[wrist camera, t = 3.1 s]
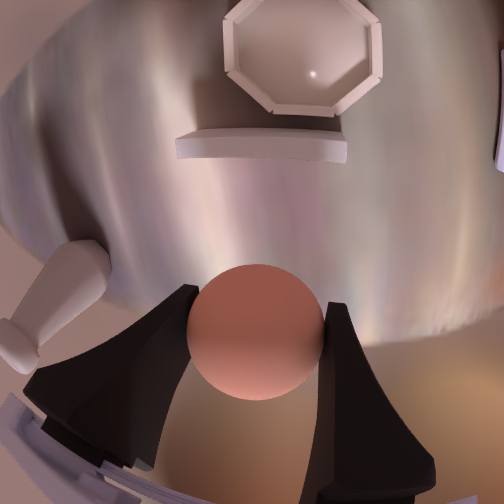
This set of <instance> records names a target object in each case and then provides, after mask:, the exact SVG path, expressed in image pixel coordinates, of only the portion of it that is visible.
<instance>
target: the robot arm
mask: <svg viewBox="0 0 504 504" xmlns="http://www.w3.org/2000/svg"><path fill="white" fill-rule="evenodd" d="M501 60H502V101H501V117H500V127H499V136H498V144H497V150H496V157H495V166H496V168H497V169H498V170H500V171H502V172H504V49H502V51H501ZM198 294H199V288H198V286H195V285H188V284H184V285H183V286H181V287H180V288H179V289H177V290H176V291H175V292H174V293H172V294H171V295H170V296H169V297H168V298H166V299H165V300H164V301H163V302H161V303H160V304H159V305H158V306H156V307H155V308H154V309H153V310H151V311H150V312H149V313H148V314H146V315H145V316H144V317H142V318H141V319H139V320H138V321H137V322H135V323H134V324H133V325H131V326H130V327H128V328H127V329H125V330H124V331H122V332H121V333H119V334H118V335H116V336H115V337H113V338H111V339H109V340H108V341H106V342H104V343H103V344H101V345H99V346H97V347H95V348H93V349H91V350H89V351H87V352H85V353H82V354H80V355H78V356H76V357H73V358H70V359H68V360H65V361H62V362H60V363H56V364H53V365H50V366H47V367H43V368H39V369H37V370H36V371H35V373H34V374H33V376H32V377H31V379H30V380H29V382H28V383H27V385H26V386H25V388H24V389H23V393H24V394H25V396H26V397H28V399H30V400H31V401H32V402H33V403H34V404H35V405H36V406H37V407H38V408H39V409H40V410H41V411H43V412H44V413H45V414H46V415H47V418H46V419H45V421H44V420H43V419H41V418H40V417H39V416H37V415H36V414H35V413H34V412H33V411H32V410H31V409H30V408H29V407H28V406H27V405H25V404H24V403H23V402H22V401H21V400H20V399H18V398H17V397H16V396H15V395H14V394H13V393H11V392H10V393H9V394H8V396H7V398H6V399H5V401H4V402H3V404H2V405H1V407H0V442H1V443H2V445H3V446H4V447H5V448H6V450H7V451H8V452H9V453H10V455H11V456H12V458H13V459H14V460H15V461H16V463H17V464H18V465H19V467H20V468H21V469H22V470H23V471H24V472H25V474H26V475H27V476H28V477H29V479H30V480H31V481H32V482H33V483H34V484H35V485H36V486H37V487H38V489H39V490H40V491H41V492H42V493H43V494H44V495H45V496H46V497H47V498H48V499H49V500H50V501H51V502H52V503H53V504H140V503H141V501H142V500H141V499H140V498H139V497H137V496H135V495H133V494H131V493H129V492H127V491H125V490H123V489H120V488H118V487H116V486H114V485H112V484H110V483H108V482H106V481H105V479H104V476H103V475H105V476H106V477H108V478H110V479H112V480H114V481H116V482H118V483H120V484H122V485H124V486H126V487H128V488H130V489H132V490H134V491H136V492H138V493H140V494H143V495H145V496H147V497H149V498H152V499H154V500H157V501H159V502H162V503H165V504H215V503H211V502H208V501H204V500H201V499H197V498H194V497H191V496H188V495H184V494H182V493H179V492H176V491H173V490H170V489H168V488H165V487H162V486H160V485H157V484H155V483H152V482H150V481H148V480H145V479H143V478H141V477H138V476H136V475H134V474H132V473H130V472H128V471H126V470H124V469H122V468H123V466H126V467H128V468H130V469H131V468H132V467H133V466H134V467H137V468H139V469H141V470H143V471H150V470H152V469H154V464H155V459H156V454H157V449H158V445H159V441H160V437H161V433H162V430H163V426H164V423H165V420H166V416H167V413H168V410H169V407H170V404H171V401H172V398H173V395H174V392H175V390H176V388H177V385H178V383H179V381H180V379H181V377H182V375H183V373H184V371H185V369H186V367H187V365H188V363H189V361H190V359H191V355H190V351H189V348H188V343H187V322H188V317H189V313H190V310H191V308H192V305H193V303H194V301H195V299H196V297H197V296H198ZM324 323H325V340H324V347H323V350H322V353H321V356H320V359H319V371H318V372H319V374H318V408H317V420H316V426H315V433H314V438H313V445H312V450H311V455H310V459H309V465H308V469H307V473H306V478H305V482H304V486H303V490H302V494H301V498H300V501H299V504H414V502H415V495H418V494H420V493H423V492H426V491H428V490H430V489H432V488H433V487H434V486H435V485H436V471H435V464H434V458H433V457H432V456H431V455H430V454H429V453H428V452H427V451H426V449H425V448H424V447H423V446H422V445H421V444H420V442H419V441H418V440H417V439H416V438H415V436H414V435H413V434H412V433H411V431H410V430H409V429H408V427H407V426H406V425H405V423H404V422H403V420H402V419H401V418H400V417H399V415H398V413H397V412H396V410H395V409H394V408H393V406H392V405H391V403H390V402H389V400H388V398H387V396H386V395H385V393H384V392H383V390H382V388H381V386H380V384H379V383H378V381H377V379H376V377H375V375H374V373H373V371H372V369H371V367H370V365H369V363H368V361H367V359H366V357H365V355H364V352H363V350H362V347H361V345H360V342H359V340H358V338H357V335H356V333H355V330H354V327H353V324H352V321H351V319H350V315H349V312H348V309H347V306H346V304H345V303H335V302H328V307H327V312H326V317H325V322H324ZM447 504H477V495H473V496H471V497H467V498H464V499H461V500H458V501H454V502H451V503H447Z"/></svg>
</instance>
